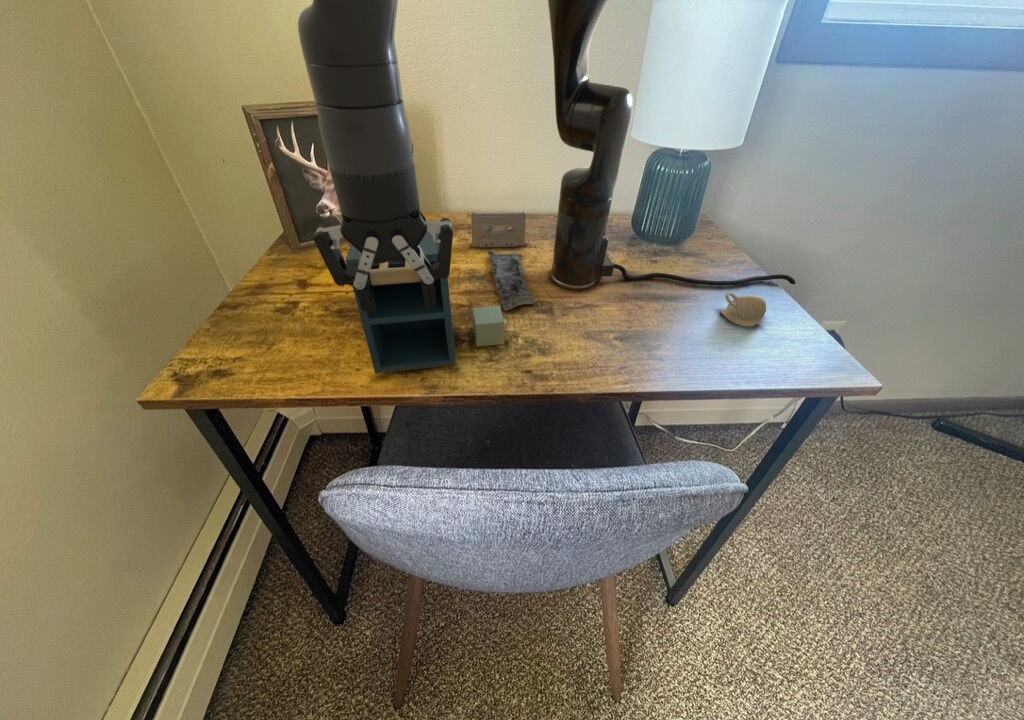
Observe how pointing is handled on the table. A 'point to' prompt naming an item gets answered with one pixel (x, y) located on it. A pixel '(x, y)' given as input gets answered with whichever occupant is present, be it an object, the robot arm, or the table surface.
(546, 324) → the table surface
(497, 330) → the block
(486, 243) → the cassette
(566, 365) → the table surface
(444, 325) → the shelf
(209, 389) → the table surface
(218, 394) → the table surface
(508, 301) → the grey cloth
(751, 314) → the decorative ornament
